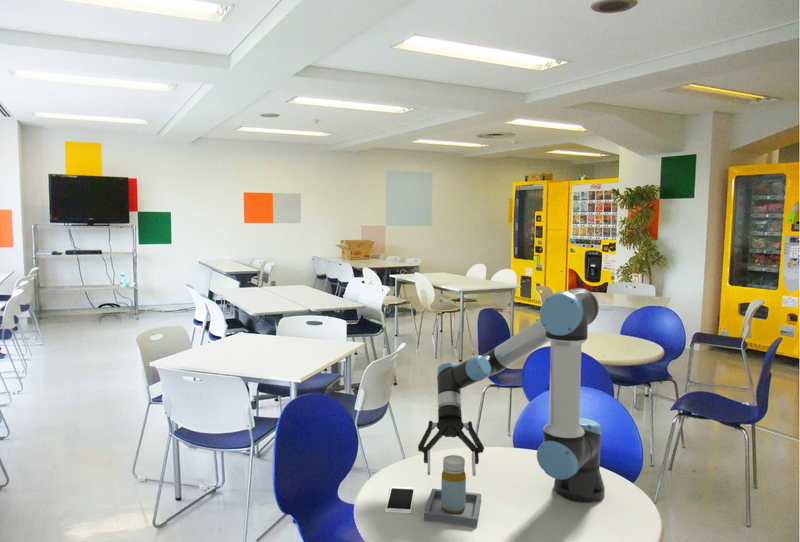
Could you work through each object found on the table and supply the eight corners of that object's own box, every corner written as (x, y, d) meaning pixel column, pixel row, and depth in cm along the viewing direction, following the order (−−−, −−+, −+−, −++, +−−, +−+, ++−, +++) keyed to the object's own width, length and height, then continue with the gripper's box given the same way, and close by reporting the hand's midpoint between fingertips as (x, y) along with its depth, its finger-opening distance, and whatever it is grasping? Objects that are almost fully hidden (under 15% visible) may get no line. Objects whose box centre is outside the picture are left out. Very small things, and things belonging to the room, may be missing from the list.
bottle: (466, 515, 167) (467, 464, 165) (441, 514, 167) (442, 464, 165) (464, 503, 174) (464, 454, 172) (440, 502, 174) (441, 454, 172)
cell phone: (384, 513, 169) (384, 511, 169) (390, 487, 185) (390, 486, 185) (411, 515, 169) (411, 513, 169) (415, 489, 185) (415, 487, 184)
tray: (481, 501, 176) (481, 493, 176) (476, 527, 161) (477, 519, 161) (432, 496, 179) (432, 488, 179) (423, 520, 165) (423, 512, 164)
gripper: (487, 414, 191) (491, 479, 178) (411, 413, 192) (410, 477, 178) (489, 403, 185) (494, 470, 172) (411, 402, 186) (410, 468, 172)
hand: (451, 474), depth 175 cm, fingers open, 13 cm apart
